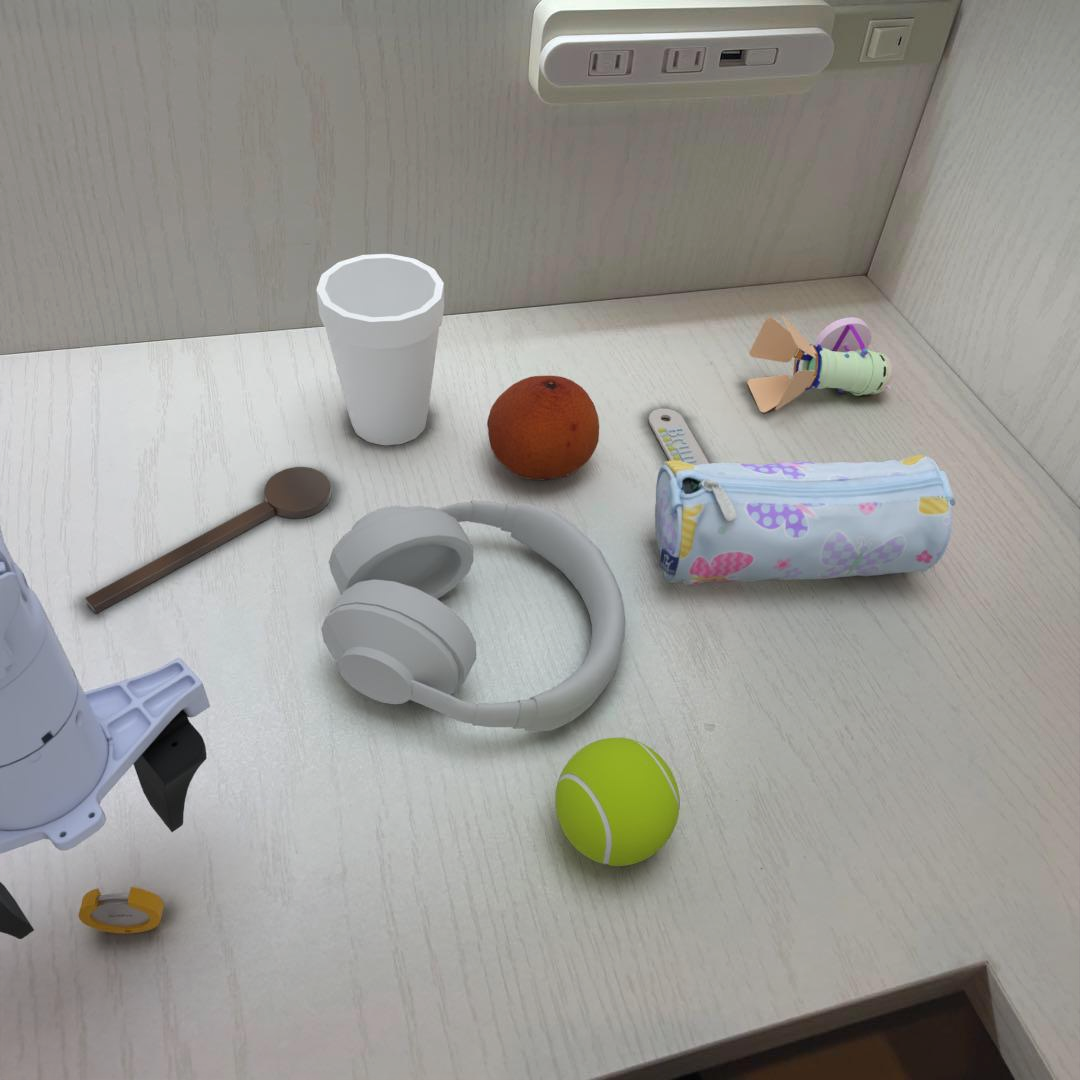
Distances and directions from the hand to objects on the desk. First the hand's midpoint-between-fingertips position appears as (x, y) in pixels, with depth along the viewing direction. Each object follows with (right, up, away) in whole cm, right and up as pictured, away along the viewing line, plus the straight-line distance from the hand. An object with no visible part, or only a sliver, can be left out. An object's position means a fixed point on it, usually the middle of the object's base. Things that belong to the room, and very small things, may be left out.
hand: (95, 865), depth 47 cm
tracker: (-1, -5, +5) cm, 7 cm away
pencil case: (+40, +14, +27) cm, 50 cm away
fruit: (+21, +22, +33) cm, 45 cm away
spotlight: (+47, +29, +42) cm, 69 cm away
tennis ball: (+26, -2, +11) cm, 28 cm away
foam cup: (+9, +26, +36) cm, 45 cm away
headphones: (+17, +9, +20) cm, 28 cm away
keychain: (+33, +23, +35) cm, 54 cm away
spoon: (-2, +16, +25) cm, 29 cm away
